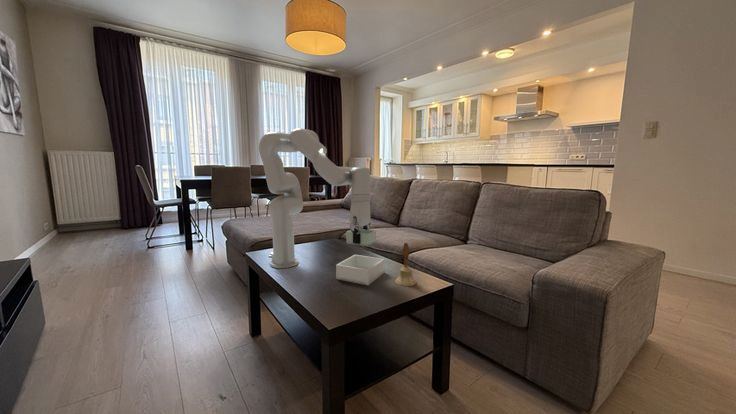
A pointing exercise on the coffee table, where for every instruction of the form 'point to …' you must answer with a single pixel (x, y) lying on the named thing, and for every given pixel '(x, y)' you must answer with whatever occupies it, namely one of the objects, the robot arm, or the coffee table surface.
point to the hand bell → (405, 270)
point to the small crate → (362, 237)
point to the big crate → (360, 269)
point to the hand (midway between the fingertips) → (361, 240)
